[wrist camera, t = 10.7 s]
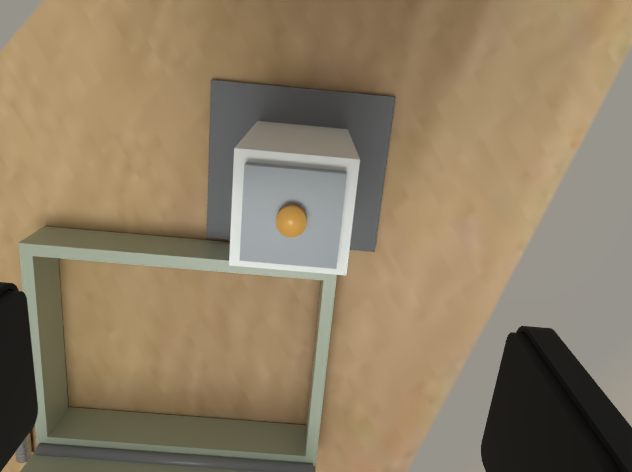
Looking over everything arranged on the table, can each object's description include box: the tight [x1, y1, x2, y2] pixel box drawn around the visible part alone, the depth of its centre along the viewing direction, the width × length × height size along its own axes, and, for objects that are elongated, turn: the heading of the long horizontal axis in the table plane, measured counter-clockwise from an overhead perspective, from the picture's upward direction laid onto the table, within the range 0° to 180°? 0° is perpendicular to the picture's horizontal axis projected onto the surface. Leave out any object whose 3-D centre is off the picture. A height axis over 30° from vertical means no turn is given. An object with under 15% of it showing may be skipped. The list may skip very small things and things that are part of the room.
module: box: [229, 121, 360, 275], centre depth 26 cm, size 5×5×10 cm
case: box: [19, 226, 337, 472], centre depth 28 cm, size 15×17×14 cm
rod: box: [15, 433, 32, 463], centre depth 35 cm, size 12×1×1 cm, turn 175°
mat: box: [207, 80, 395, 252], centre depth 31 cm, size 9×10×1 cm
